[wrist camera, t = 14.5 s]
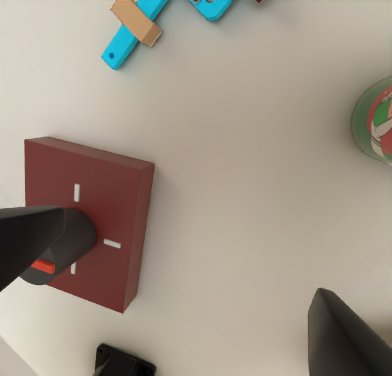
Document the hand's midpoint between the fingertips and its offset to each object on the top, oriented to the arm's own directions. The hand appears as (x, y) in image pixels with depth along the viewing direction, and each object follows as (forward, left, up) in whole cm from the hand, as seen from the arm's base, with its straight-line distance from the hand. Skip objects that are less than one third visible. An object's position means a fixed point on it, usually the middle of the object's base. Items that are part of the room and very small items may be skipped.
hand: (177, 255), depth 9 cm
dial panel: (-7, +11, -12) cm, 18 cm away
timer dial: (-7, +11, -9) cm, 16 cm away
